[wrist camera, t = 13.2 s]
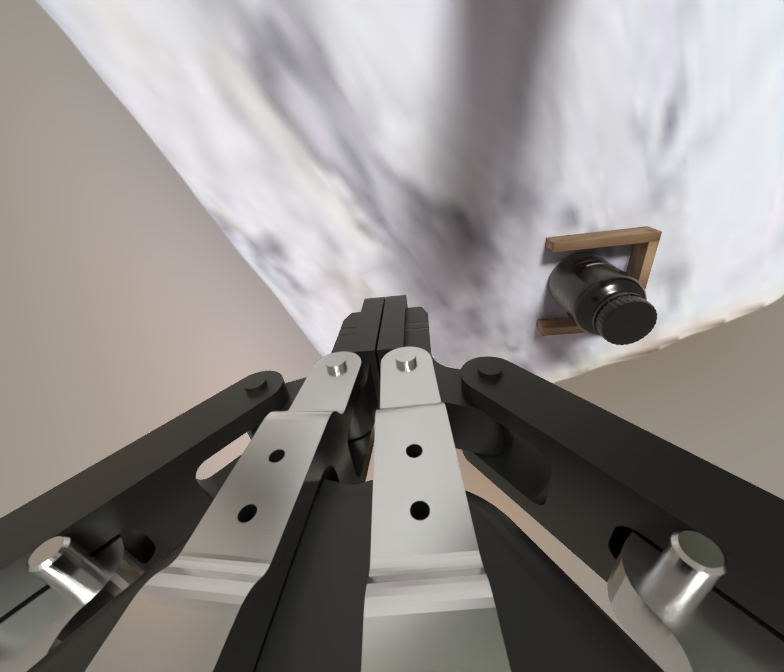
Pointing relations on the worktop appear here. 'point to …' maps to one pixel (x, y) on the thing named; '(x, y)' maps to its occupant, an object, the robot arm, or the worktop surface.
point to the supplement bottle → (602, 299)
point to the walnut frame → (640, 237)
